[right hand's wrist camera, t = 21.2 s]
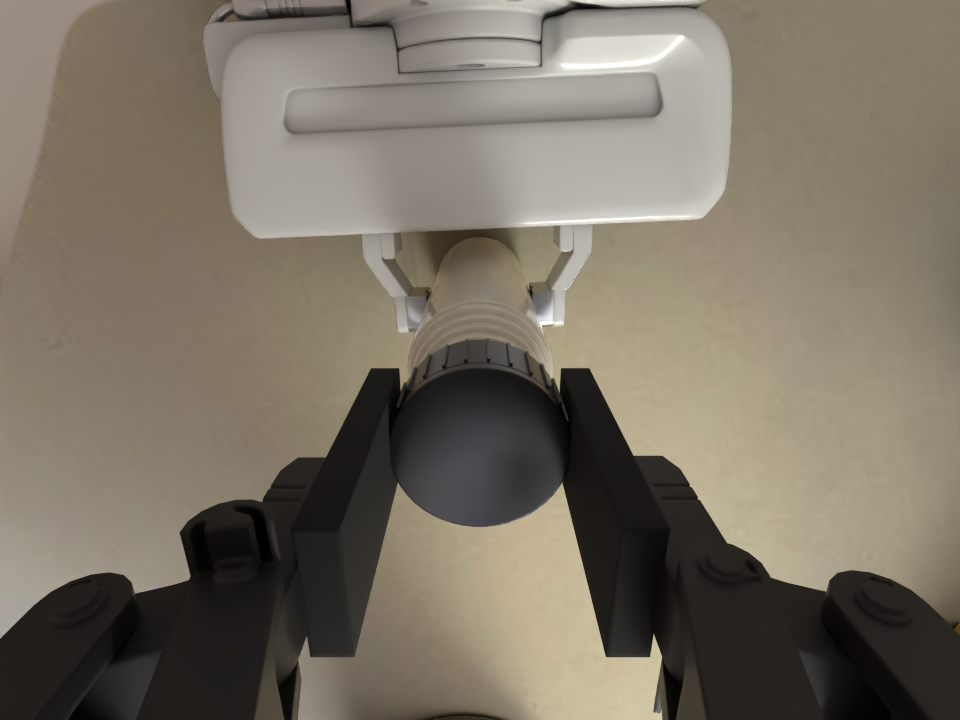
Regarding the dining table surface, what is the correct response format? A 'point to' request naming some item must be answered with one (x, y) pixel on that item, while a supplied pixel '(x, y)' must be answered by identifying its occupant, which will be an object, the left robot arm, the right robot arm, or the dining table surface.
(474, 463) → the cap
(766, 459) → the dining table surface
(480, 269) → the bottle
